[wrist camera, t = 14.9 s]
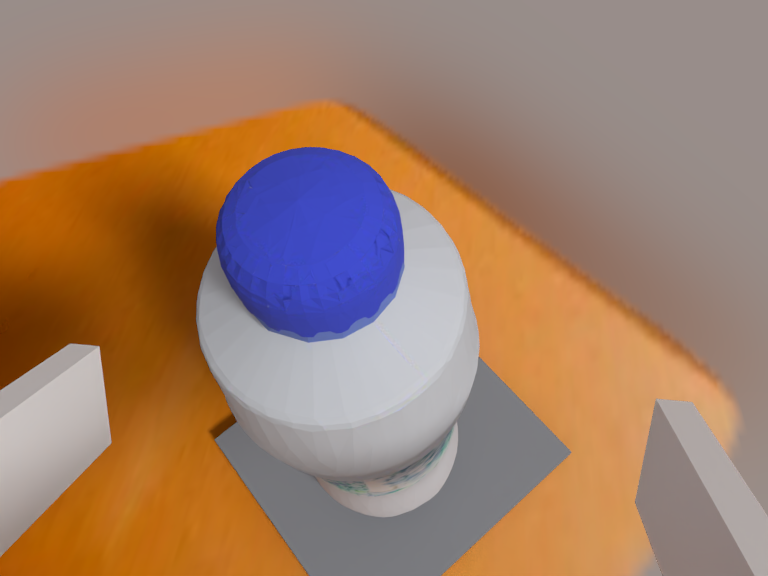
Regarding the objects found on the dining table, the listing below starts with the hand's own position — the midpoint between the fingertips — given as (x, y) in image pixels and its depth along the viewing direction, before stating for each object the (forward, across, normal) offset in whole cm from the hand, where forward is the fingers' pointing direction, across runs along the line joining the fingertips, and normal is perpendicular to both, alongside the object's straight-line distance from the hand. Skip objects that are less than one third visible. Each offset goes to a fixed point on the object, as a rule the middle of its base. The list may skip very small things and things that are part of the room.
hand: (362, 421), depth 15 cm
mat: (+12, -1, -9) cm, 15 cm away
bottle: (+12, -1, -8) cm, 14 cm away
